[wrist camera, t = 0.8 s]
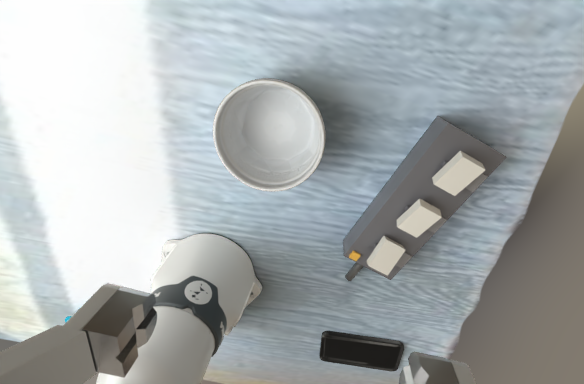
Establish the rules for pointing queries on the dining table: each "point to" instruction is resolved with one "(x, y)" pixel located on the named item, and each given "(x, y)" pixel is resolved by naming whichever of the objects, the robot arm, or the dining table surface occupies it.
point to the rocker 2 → (418, 218)
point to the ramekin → (269, 134)
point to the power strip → (416, 194)
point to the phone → (361, 350)
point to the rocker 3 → (458, 173)
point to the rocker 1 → (385, 255)
